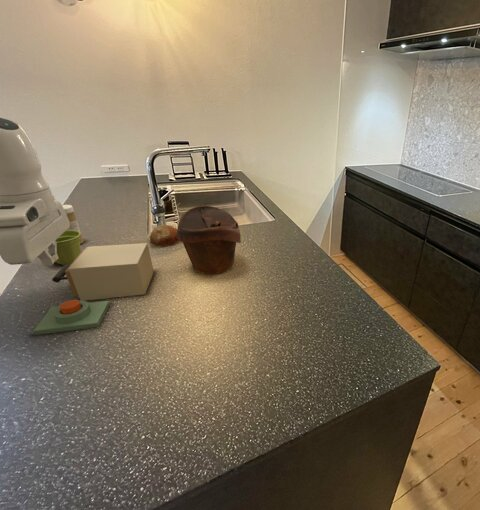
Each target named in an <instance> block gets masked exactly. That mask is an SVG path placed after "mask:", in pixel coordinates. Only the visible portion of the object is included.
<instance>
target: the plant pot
mask: <svg viewBox="0 0 480 510" xmlns="http://www.w3.org/2000/svg"><path fill="white" fill-rule="evenodd" d="M80 232H81V231H80ZM80 232H79V231H75V230H66V231H65V232H64V233H63V234H62V235H61V236H59V237H58V238H57V239H56V240H55V241H56V243H57V252H56V253H57V255H58V259H57V260H56V261H55V262H56V263H57V264H58V265H62V266H64V265H66V264H69V265H71V264H72V263H73V261H74V260H75V259H76V258H77V257H78V256H79V254H80V253H81V252H82V249H81V244H80V242H79V240H80V235H82V233H81V234H80Z"/></svg>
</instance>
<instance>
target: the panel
mask: <svg viewBox="0 0 480 510" xmlns="http://www.w3.org/2000/svg"><path fill="white" fill-rule="evenodd" d="M78 301H79V302H80V305H81V309H80V310H79V311H77V312H74V313H71V314H63V313H62V311H61V309H60V305H56V306H51V307H50V308H49V309H48V311H47V312H46V314H44V316H43V317H42V319H41V320H40V321H39V322H38V324H37V325H36V326H35V328H34V329H33V330H32V332H33V334H34V336H39V335H45V334H52V333H53V334H54V333H61V332H68V331H76V330H84V329H92V328H99V327H100V325H101V323H102V321H103V319H104V317H105V316H106V313H107V312H108V310H109V308H110V306H111V303H110V300H101V301H95V302H89V301H87V300H86V301H81V300H80V299H79V300H78Z"/></svg>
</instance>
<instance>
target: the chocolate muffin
mask: <svg viewBox="0 0 480 510" xmlns="http://www.w3.org/2000/svg"><path fill="white" fill-rule="evenodd" d="M176 229H177V239H178V240H179V242H181V243H182V244H183V247H184V249H185V252H186V254H187V257H188V258H189V261H190V263H191V266H192V269H193V270H194V271H196V272H198V273H201V274H207V275H215V274H220V273H223V272H225V271H228V270H229V269H231V268H232V266H233V265H234V262H235V255H236V246H237V243H238V244H242V238H241V232H240V227H239V223H238V221H237V220H236V219H235V218H234V217H233V216H232V215H231V214H230V213H228V212H227V211H225V210H224V209H222V208H219V207H217V206H211V205H198V206H195V207H192V208H190V209H188V210H187V211H186V212H185V213H184V214H183V215H182V216H181V217H180V218H179V221H178V225H177V228H176Z"/></svg>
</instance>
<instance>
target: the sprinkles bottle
mask: <svg viewBox="0 0 480 510" xmlns="http://www.w3.org/2000/svg"><path fill="white" fill-rule="evenodd" d="M61 205H62V206H63V208H64V210H65V212H66V215H67V217H68V219H69V222H70V227H69V228H68V229H67V230H75V231H79V232H80V234H81V235H80V240H79V242H80V245H81V244H83V243H84V241H85V240H84V238H83V235H82V233H81V229H80V225H79V223H78V220H77V217H76V214H75V209H74V207H73V206H72V204H61Z"/></svg>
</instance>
